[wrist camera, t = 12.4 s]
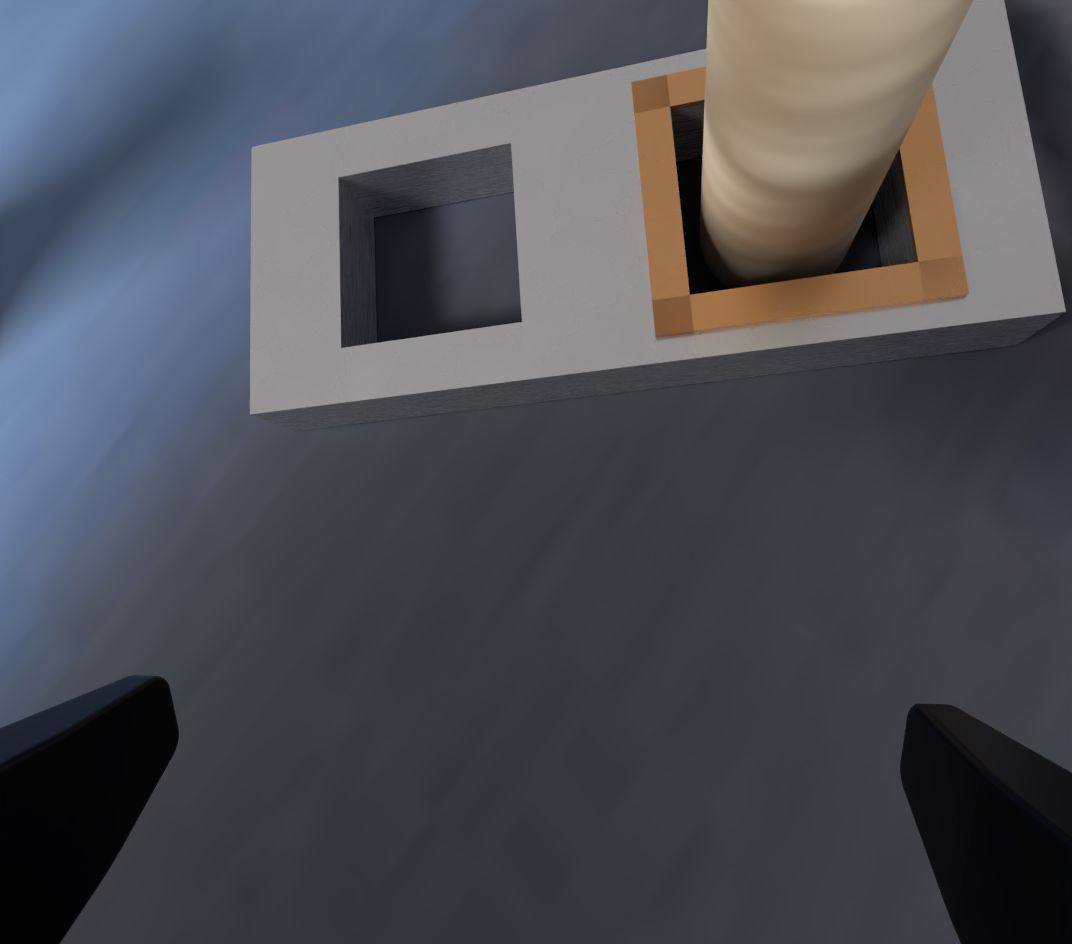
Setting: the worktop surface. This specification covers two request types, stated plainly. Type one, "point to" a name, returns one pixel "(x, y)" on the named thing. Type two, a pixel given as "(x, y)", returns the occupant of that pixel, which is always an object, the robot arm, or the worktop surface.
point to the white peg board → (634, 246)
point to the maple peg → (807, 124)
